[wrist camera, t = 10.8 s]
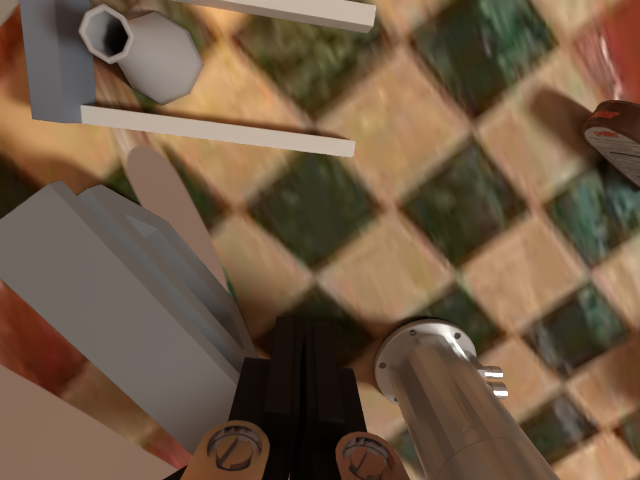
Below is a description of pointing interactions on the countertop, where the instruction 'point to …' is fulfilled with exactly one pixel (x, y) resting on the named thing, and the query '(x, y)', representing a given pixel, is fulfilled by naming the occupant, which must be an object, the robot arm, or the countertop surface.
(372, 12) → the guide rails
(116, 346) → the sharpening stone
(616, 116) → the tin
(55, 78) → the stop block
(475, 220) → the countertop surface
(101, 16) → the flask
